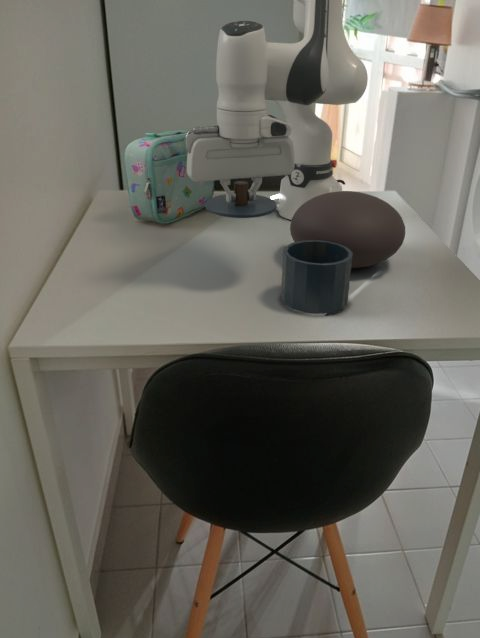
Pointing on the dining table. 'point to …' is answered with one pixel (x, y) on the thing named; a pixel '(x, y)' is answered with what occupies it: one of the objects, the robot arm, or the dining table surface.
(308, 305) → the tin
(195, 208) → the lunch box
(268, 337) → the dining table surface
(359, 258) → the flattened ellipsoid
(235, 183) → the lid
